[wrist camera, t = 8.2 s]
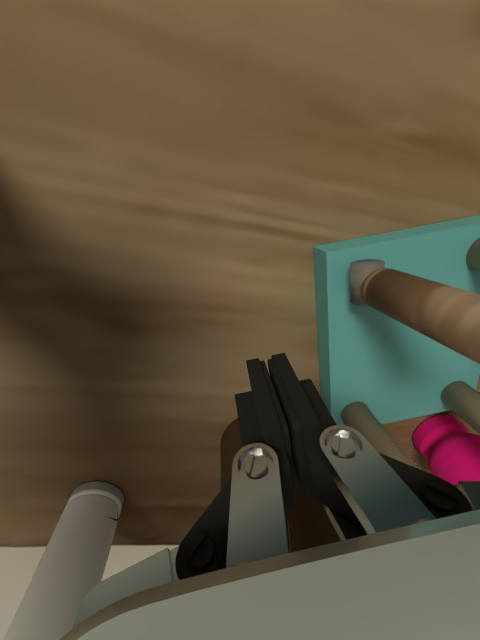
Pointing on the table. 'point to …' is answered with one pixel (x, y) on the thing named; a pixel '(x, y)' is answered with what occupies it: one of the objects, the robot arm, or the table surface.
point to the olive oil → (306, 514)
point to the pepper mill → (449, 448)
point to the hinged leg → (420, 305)
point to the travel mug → (69, 563)
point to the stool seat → (394, 334)
